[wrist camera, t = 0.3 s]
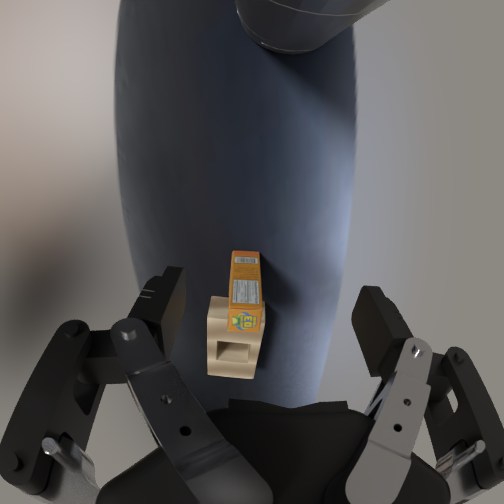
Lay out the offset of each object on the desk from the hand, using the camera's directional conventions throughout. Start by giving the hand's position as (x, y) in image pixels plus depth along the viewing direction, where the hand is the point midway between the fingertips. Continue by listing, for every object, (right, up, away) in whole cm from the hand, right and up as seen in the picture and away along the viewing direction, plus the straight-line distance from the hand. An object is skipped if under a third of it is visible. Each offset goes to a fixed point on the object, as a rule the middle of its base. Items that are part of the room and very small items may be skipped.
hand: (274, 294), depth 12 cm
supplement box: (-2, +1, +21) cm, 21 cm away
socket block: (-3, -10, +28) cm, 30 cm away
